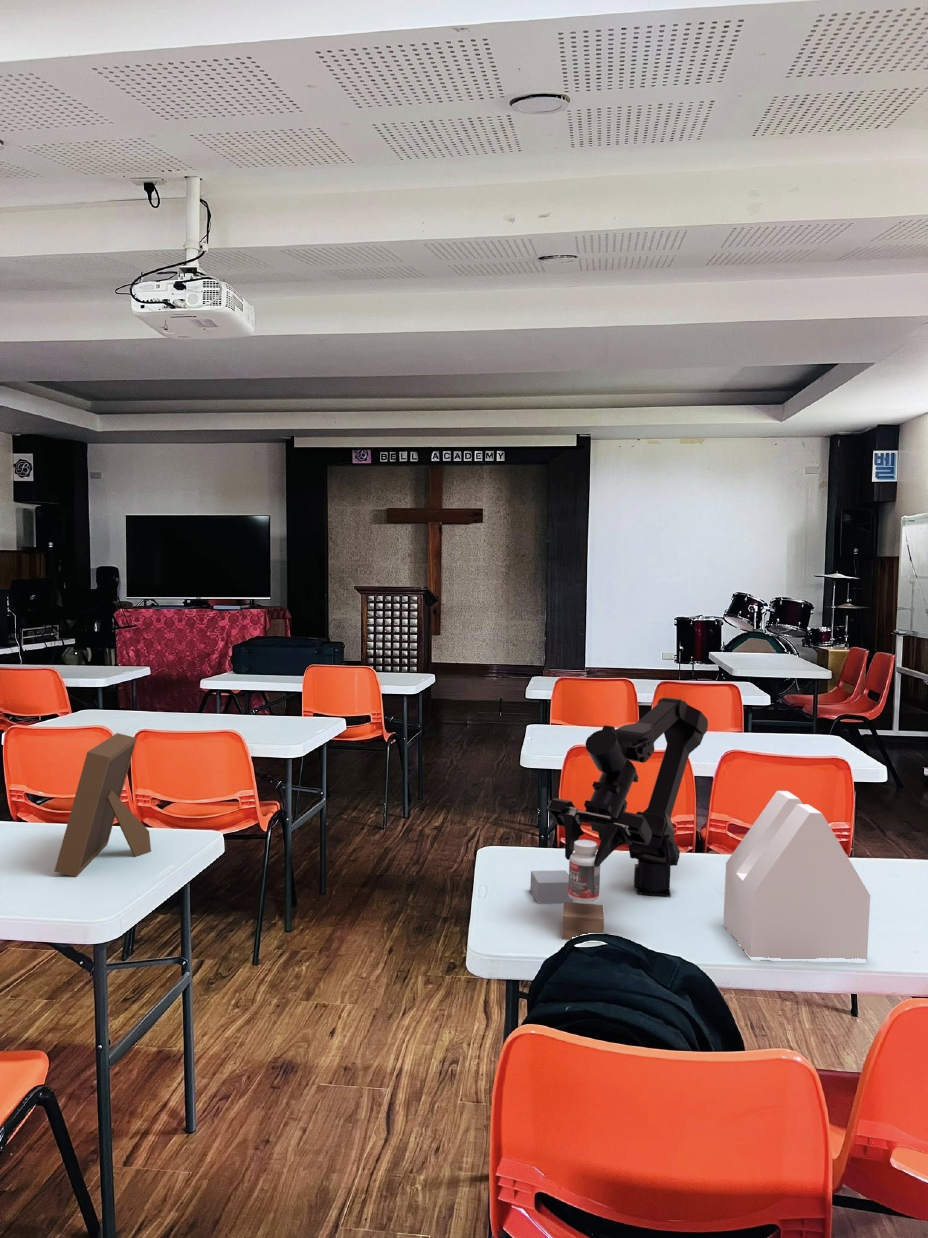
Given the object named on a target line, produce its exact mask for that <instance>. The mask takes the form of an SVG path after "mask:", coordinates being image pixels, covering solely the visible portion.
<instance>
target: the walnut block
mask: <svg viewBox="0 0 928 1238" xmlns="http://www.w3.org/2000/svg"><path fill="white" fill-rule="evenodd" d="M562 904H563V907H562V925H561V927H562V928H561V939H562V940H569V939H572V937H576V936H580V935H582V934H588V933H603V934H604V927H605V925H604V923H605V916H604V915H605V914H604V904H599V903H598V904H597V903H587V902H574V903H573V902H564V903H562Z"/></svg>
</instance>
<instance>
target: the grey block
mask: <svg viewBox="0 0 928 1238" xmlns="http://www.w3.org/2000/svg"><path fill="white" fill-rule="evenodd" d="M568 887H569V872H567V870H530V887H529V889H530V893H531V894H532V897H533V898H534V899H535V901H536V903H537V904H564V902H573V903H575V902H574V901H575V900H573V899H571V898H570V897H569V895H568Z"/></svg>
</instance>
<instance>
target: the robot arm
mask: <svg viewBox="0 0 928 1238" xmlns="http://www.w3.org/2000/svg"><path fill="white" fill-rule="evenodd" d="M708 720H709V719H708V718H707V717H706V716H705V715H704V713H703V712H702V711H700V710H699V709H697V708H695V707H693V706H691V705H689V704H688V703H687V702H686V701H685V700H683V699H681V698H675V697H674V698H673V697H665V696H664V697H662V698H659V700H658V701H657V703H656V705H655V706H654V707H652V708H651V709H650V710H649V711H648V712H647V713H646V714H645V715H643V716H642V717H641V718H640V719H639V720H638V721H636V722H635V723H629V724H624V725H622V726H620V727H618V728H616V729H615V726H613V725H605V724H604V725H603V726H602V729H600V730H597V731H595V732H593V733H592V734H590V735H589V736H588V737H587V738H586V740H585V749H586V751H587V753H588V755H589V756H590V759H591V761H592V762H593V764H594V765H595V767H596V769H597V770H598V771H599V772H601V774H600V776H599V779H598V781H593V784H591V785H592V788H593V792H592V795H591V797H590V799H588V800H587V799H586V800H585V801H584V804H583V806H584V808H585V811H584V810H581V809H580V810H579V809H578V808H577V807H576V806H575V805H574V803H573V802H572V801H571V800H566V799H562V798H553V799H551V800H550V801H549V802H548V805H547V807H546V810H547V812H548V813H549V815H550V816H551V818H552V820H553V822H554V823H555V825H557V826H559V827H561V828H564V843H565V844H564V848H565V849H564V857H565V859H566V860H568V861H569V860H570V856H571V854H573V853H574V852H575V851H574V842H575V841H577V840H580V839H579V838H580V837H581V836H583V835H584V834H585V832H584V831H583V829H582V827H581V826H582V824H583V823H585V824H589V825H590V828H591V831H593V832H596V833H598V838H599V840H600V843H599V845H598V847H597V852H596V853H595V854H596V857H595V861H594V865H595V866H596V867H598V866H599V865H600V866H601V864H602V863H603V862H604V861H605V860H607V858H608V857H609V856H610V855H611V854H612V853H613V852H614V851H615V850H616V849H617V848H619V847H620V846H624V845H625V846H626V845H628V851H629V858H630V859H635V860H637V863H635V864H634V872H633V873H634V875H633V886H634V888H635V889H636V894H638V895H646V896H647V895H648V896H661V897H671V896H672V895H671V894H672V892H671V890H670V889H671V886H670V885H671V866H675V867H676V866H678V862H679V860H680V854H681V851H680V849H679V846H678V845H677V843H676V841H675V839H674V838H675V834H676V833H675V828H674V826H673V822H672V819H671V817H672V814H673V811H674V807H675V804H676V800H677V797H678V793H679V790H680V787H681V784H682V779H683V776H684V773H685V769H686V766H687V763H688V760H689V757H690V754H691V753H692V752H693V751H694V750H696V749H697V748H698V747H699V746H700V745H701V743H702V741H703V738H704V737H705V734H706V733H707V732H708V728H709V721H708ZM662 735H664V738H665V742H666V747H665V750H664V753H663V755H662V760H661V764H660V766H659V770H658V773H657V776H656V778H655V779H656V780H655V784H654V786H653V789H652V793H651V796H650V799H649V802H648V805H647V808H646V809H645V810H643V811H637V812H636V813H633V812H628V811H627V807H628V802H627V800H626V799H627V796H628V794H629V791H630V789H631V787H632V784H633V783H638V782H639V775H638V773H637V772H638V771H637V768H636V767H635V765H634V763H633V762H636V763H643V764H644V763H646V762H648V760H649V759H650V758H651V756H652V754H653V753H654V752H655V743H656V741H657V740H658V739H659V738H660V737H661V736H662Z"/></svg>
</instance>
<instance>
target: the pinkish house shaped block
mask: <svg viewBox="0 0 928 1238" xmlns="http://www.w3.org/2000/svg"><path fill="white" fill-rule="evenodd" d="M751 825H752V826H750V828H749V830H748V831H747V832H746V833H745V835H744V836H743V838H742V840H741V841H740V842H739V844H738V845H737V847H736V848H735V850H733V852H732V854H731V855H730V856H729V858H728V859H727V861H726V862H725V875H724V876H725V878H724V880H725V881H724V899H723V900H724V901H723V903H724V904H723V922H722V925H723V924H724V925H725V926H724V925H723V926H724V928H725V927H726V928H727V929H728V930H729V932H730V933H731V934H732V936H733V937H734V938H735V939H736V940H737V942H738V943H739V944H740V945H741V947H742V948H743V949H744V950H745V951H746V953H747V954H748V955H749V956H750V957H763V958H764V957H765V958H768V957H769V958H781V959H816V958H817V959H818V958H827V959H828V958H845V959H852V958H853V959H855V958H856V959H857V958H859V959H860V958H861V959H867V960H868V950H869V949H868V947H869V932H870V931H869V928H870V912H871V910H870V909H871V907H870V905H871V894H870V892H869V890H868V889H867V888H866V885H865V884H864V882H863V881H862V879H861V877H860V876H859V874H858V872H857V870H856V868H855V867H854V865H853V863H852V862H851V861H850V858H849V857H848V855H847V853H846V852H845V850H844V848H843V847H842V844H841V843H840V842H839V840H838V838H837V836H836V834H835V833H834V831H833V830H832V827H831V826H830V825H829V822H828V820H826V817H825V816H824V814H823V813H822V812H821V811H819V810H818V809H816V808H814V807H813V806H812V805H810V804H807V803H805V804H804V803H803V802H802V800H801V799H800V798H799V797H797V795H795V794H793V793H792V792H790V791H788V790H776V792H775V793H774V795H773V796H772V797H771V799H770V800H769V801H768V803H767V804H766V806H765V807H764V808H763V809H762V811H761V812H760V815H758V817H757V818H756V820H755V821H754V822H753V824H751ZM726 928H725V929H726ZM727 929H726V930H727ZM728 930H727V931H728ZM729 932H728V933H729ZM730 933H729V934H730ZM731 934H730V935H731ZM732 936H731V937H732ZM733 937H732V938H733ZM734 938H733V939H734ZM735 939H734V940H735ZM737 942H736V943H737ZM738 943H737V944H738ZM741 947H740V948H741Z"/></svg>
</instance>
